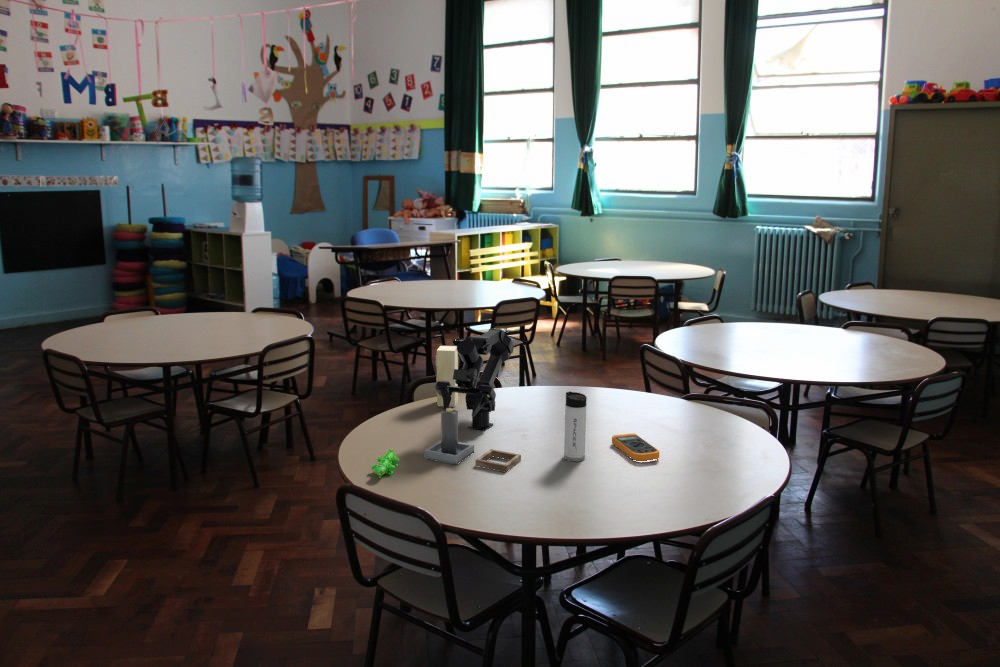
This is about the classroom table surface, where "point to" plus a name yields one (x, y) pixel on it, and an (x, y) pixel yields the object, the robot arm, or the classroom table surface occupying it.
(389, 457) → the crocodile figurine
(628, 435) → the multimeter
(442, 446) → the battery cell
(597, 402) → the classroom table surface
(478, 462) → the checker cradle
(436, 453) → the tray
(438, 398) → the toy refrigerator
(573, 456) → the travel mug
